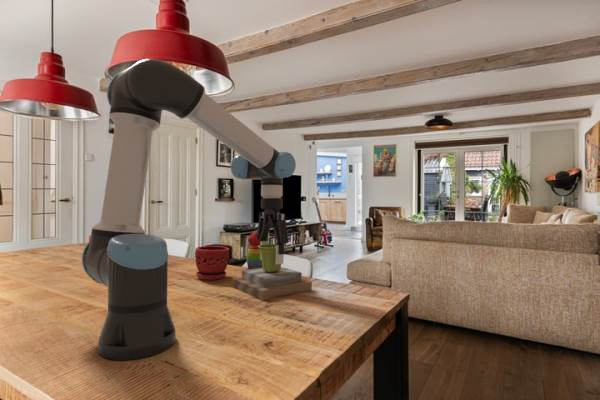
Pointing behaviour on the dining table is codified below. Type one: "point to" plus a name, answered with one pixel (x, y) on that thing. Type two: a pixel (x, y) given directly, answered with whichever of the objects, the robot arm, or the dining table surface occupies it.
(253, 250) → the stacking bear
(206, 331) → the dining table surface
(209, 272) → the plant pot
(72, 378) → the dining table surface
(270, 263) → the plant pot
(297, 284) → the stepped square platform
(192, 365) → the dining table surface
